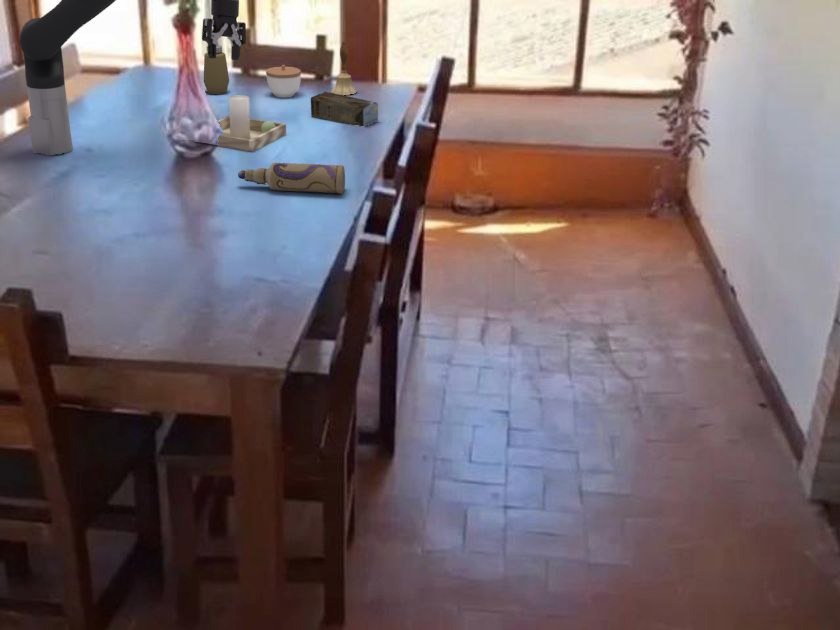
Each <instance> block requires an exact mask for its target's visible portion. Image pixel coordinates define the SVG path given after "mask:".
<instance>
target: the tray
mask: <svg viewBox="0 0 840 630" xmlns="http://www.w3.org/2000/svg"><path fill="white" fill-rule="evenodd" d="M217 121H218V123H219V124H220V127H221V129H222V130H223V135H219V137H218V146H217V147H219V148H220V147H221V148H227V149H232V150H238V151H239V150H240V151H245V152H251V153H254V152H256V151H257V150H259V149H261V148H263V147H265V146H267V145H269V144H270V143H272V142H274V141H276V140H278V139H280V138H282V137H283V136H286V135H287V123H283V122H276V121H272V122H273V123H274V124H275V126H276V127H275V128H273V129H271V130H269V131H267V132H265V133H263V132H262V130H261V126H262V124H263V123H264V122H266V121H267V120H263V119H258V118H257V119H256V118H251V117H250V139H245V138H238V137H232V136H230V117H229V115H228V116H225V117H223V118H221V119H218V120H217Z"/></svg>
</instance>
